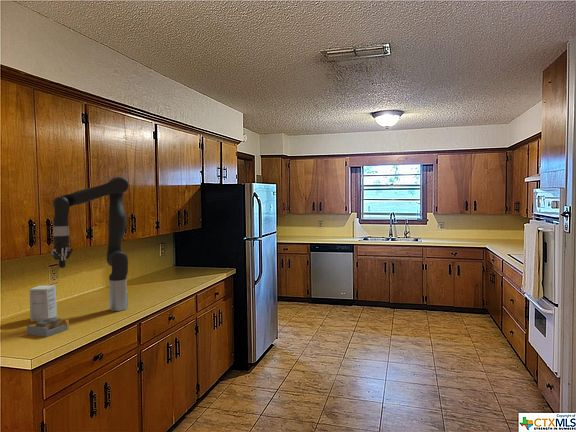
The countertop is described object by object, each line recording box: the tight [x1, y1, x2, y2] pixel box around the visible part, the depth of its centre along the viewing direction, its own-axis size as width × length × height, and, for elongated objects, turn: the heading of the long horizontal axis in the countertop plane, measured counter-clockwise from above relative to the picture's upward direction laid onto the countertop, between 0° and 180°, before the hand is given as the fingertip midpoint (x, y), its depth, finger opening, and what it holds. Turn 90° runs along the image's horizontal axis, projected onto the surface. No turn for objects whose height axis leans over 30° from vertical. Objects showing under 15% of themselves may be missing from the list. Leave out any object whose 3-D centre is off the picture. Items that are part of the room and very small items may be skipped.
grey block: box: [35, 317, 62, 330], centre depth 201 cm, size 9×6×6 cm, turn 160°
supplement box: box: [28, 285, 58, 322], centre depth 223 cm, size 10×9×17 cm
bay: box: [26, 318, 70, 338], centre depth 202 cm, size 12×12×4 cm
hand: (62, 267), depth 223 cm, fingers closed
